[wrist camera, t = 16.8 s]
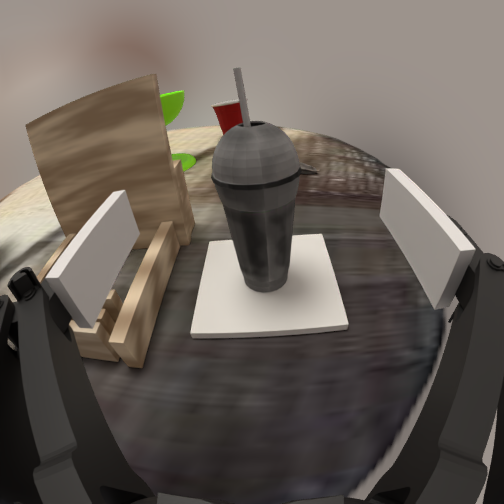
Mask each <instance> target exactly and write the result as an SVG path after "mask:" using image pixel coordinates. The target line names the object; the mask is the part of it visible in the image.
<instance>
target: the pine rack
mask: <svg viewBox="0 0 504 504" xmlns="http://www.w3.org/2000/svg"><path fill="white" fill-rule="evenodd" d="M26 129H27V133H28V137H29V141H30V144H31V147H32V151H33V154H34V157H35V160H36V163H37V167H38V170H39V172H40V175H41V178H42V181H43V184H44V186H45V189H46V192H47V194H48V197H49V199H50V202H51V204H52V207H53V209H54V212H55V214H56V216H57V219H58V221H59V223H60V225H61V228H62V230H63V232H64V234H65V236H66V239H65V240H64V241H63V242H62V244H61V245H60V246H59V247H58V249H57V250H56V251H55V253H54V254H53V255H52V257H51V258H50V259H49V261H48V262H47V263H46V265H45V266H44V268H43V269H42V270H41V272H40V273H39V275H38V276H37V279H38V280H39V282H40V284H41V283H42V281H43V280H44V278H45V277H46V275H47V274H48V272H49V271H50V269H51V268H52V266H53V265H54V264H55V262H56V261H57V259H59V257H60V255H61V254H62V253H63V251H64V250H65V249H66V248H67V247H68V245H69V244H70V243H71V241H72V240H73V239H74V238H75V236H76V235H77V234H78V232H79V231H80V230H81V229H82V228H83V226H84V225H85V224H86V223H87V221H88V220H89V219H90V218H91V217H92V215H93V214H94V213H95V212H96V211H97V210H98V208H99V207H100V206H101V205H102V204H103V203H104V202H105V200H106V199H107V198H108V197H109V196H110V195H111V194H112V193H113V192H116V191H121V190H125V191H126V194H127V197H128V200H129V203H130V206H131V209H132V212H133V215H134V218H135V221H136V224H137V227H138V230H139V232H140V235H139V237H138V238H137V240H136V242H135V244H134V246H133V247H132V249H144V248H148V250H147V252H146V255H145V257H144V259H143V261H142V263H141V265H140V267H139V269H138V272H137V274H136V276H135V278H134V281H133V283H132V285H131V287H130V290H129V292H128V294H127V297H126V299H125V301H124V304H123V306H122V308H121V311H120V313H119V316H118V318H117V321H116V323H115V326H114V328H113V331H112V334H111V336H110V339H109V343H110V345H111V346H112V347H113V348H114V350H115V351H116V352H117V353H118V355H119V356H120V357H121V358H122V360H123V361H124V362H125V363H126V364H127V366H128V367H136V368H143V364H144V360H145V356H146V353H147V349H148V346H149V342H150V338H151V335H152V332H153V328H154V325H155V321H156V318H157V315H158V311H159V308H160V305H161V302H162V299H163V295H164V292H165V289H166V286H167V283H168V280H169V277H170V274H171V271H172V268H173V265H174V262H175V260H176V257H177V254H178V251H179V248H180V246H182V245H189V244H190V241H191V233H192V230H193V227H194V224H195V221H194V217H193V213H192V208H191V204H190V200H189V195H188V191H187V186H186V182H185V177H184V172H183V168H182V163H181V159H180V160H174V161H173V160H172V155H171V150H170V146H169V141H168V136H167V131H166V126H165V121H164V115H163V110H162V104H161V99H160V93H159V87H158V81H157V76H156V74H151V75H147V76H143V77H140V78H136V79H133V80H130V81H126V82H123V83H121V84H117V85H114V86H111V87H109V88H106V89H103V90H100V91H98V92H95V93H92V94H90V95H87V96H85V97H82V98H80V99H78V100H75V101H73V102H70V103H68V104H66V105H64V106H62V107H59V108H57V109H55V110H53V111H51V112H49V113H47V114H45V115H43V116H41V117H39V118H37V119H35V120H34V121H32V122H30V123H29V124H26ZM132 249H131V250H132Z"/></svg>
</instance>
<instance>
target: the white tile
mask: <svg viewBox="0 0 504 504" xmlns="http://www.w3.org/2000/svg"><path fill="white" fill-rule="evenodd" d="M347 328H348V321H347V317H346V313H345V309H344V306H343V302H342V299H341V295H340V291H339V288H338V285H337V281H336V278H335V274H334V271H333V268H332V265H331V261H330V258H329V255H328V252H327V249H326V245H325V242H324V239H323V236H322V234H312V235H296V236H292V245H291V256H290V266H289V270H288V278H287V281H286V283H285V284H284V285H283V286H282V287H281V288H279V289H278V290H275V291H272V292H264V293H262V292H257V291H254V290H252V289H250V288H249V287H248V286H247V285H246V284H245V281H244V277H243V274H242V272H241V270H240V266H239V262H238V259H237V255H236V251H235V248H234V244H233V240H224V241H210V242H209V247H208V251H207V256H206V260H205V265H204V269H203V274H202V278H201V283H200V288H199V292H198V297H197V302H196V307H195V312H194V317H193V322H192V327H191V333H190V334H191V336H192V338H245V337H267V336H284V335H297V334H309V333H320V332H330V331H339V330H347Z"/></svg>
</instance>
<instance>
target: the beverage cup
mask: <svg viewBox="0 0 504 504" xmlns="http://www.w3.org/2000/svg"><path fill="white" fill-rule="evenodd" d="M233 70H234V75H235V81H236V86H237V91H238V97H239V102H240V108H241V113H242V119H243V123H240V124H238V125H236V126H234V127H232V128H231V129H230V130H228V131H227V132H226V133H225V134H224V135H223V136H222V138H221V139H220V141H219V143H218V144H217V146H216V149H215V151H214V155H213V159H212V176H211V178H212V180H213V183H215V187H216V190H217V192H218V195H219V197H220V200H221V202H222V204H223V207H224V210H225V214H226V218H227V222H228V225H229V229H230V233H231V237H232V240H233V244H234V248H235V251H236V255H237V259H238V262H239V266H240V270H241V272H242V274H243V277H244V281H245V284H246V285H247V286H248V287H249V288H250V289H252V290H254V291H257V292H262V293H264V292H272V291H275V290H278V289H279V288H281V287H282V286H283V285H284V284H285V283H286V281H287V278H288V270H289V266H290V256H291V245H292V233H293V221H294V207H295V196H296V194H297V190H298V185H299V176H300V174H301V172H302V171H301V167H300V164H299V159H298V155H297V152H296V149H295V147H294V145H293V143H292V141H291V140H290V138H289V137H288V136H287V135H286V134H285V133H284V132H283V131H282V130H281V129H279V128H278V127H276V126H274V125H272V124H270V123H267V122H263V121H250V119H249V113H248V108H247V101H246V96H245V90H244V85H243V80H242V74H241V68H240V67H239V68H234V69H233Z"/></svg>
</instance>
